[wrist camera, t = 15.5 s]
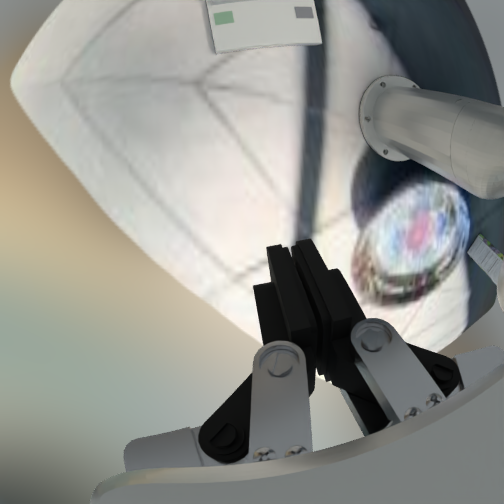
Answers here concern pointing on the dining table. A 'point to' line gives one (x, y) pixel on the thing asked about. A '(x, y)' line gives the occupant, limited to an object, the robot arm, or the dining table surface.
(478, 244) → the syrup box
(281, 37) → the breaker panel
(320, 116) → the dining table surface
